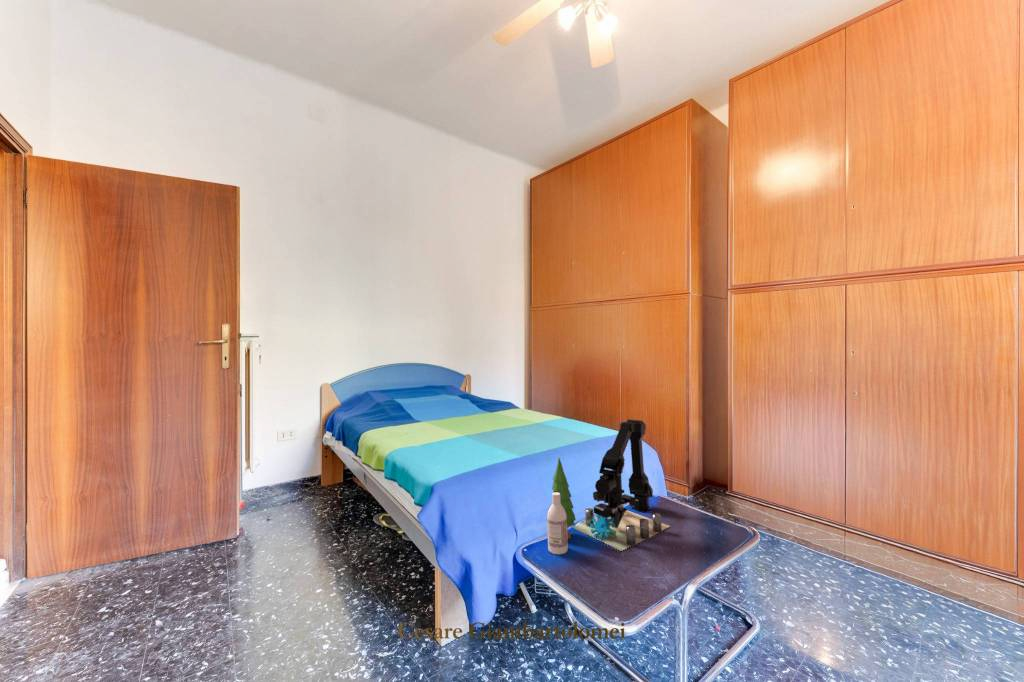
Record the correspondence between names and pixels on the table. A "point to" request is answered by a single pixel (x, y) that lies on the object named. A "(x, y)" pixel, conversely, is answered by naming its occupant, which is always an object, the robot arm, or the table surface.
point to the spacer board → (621, 530)
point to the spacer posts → (630, 528)
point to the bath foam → (557, 526)
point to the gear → (603, 526)
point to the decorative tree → (564, 494)
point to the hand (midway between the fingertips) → (616, 527)
